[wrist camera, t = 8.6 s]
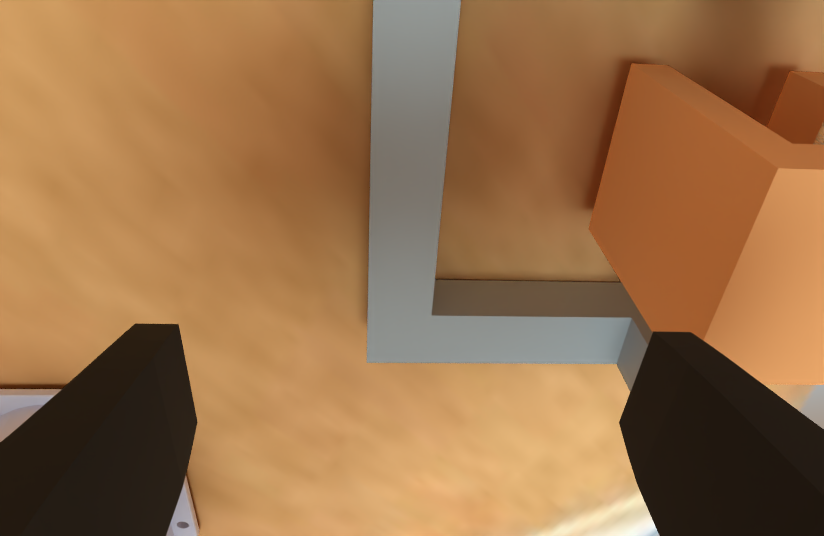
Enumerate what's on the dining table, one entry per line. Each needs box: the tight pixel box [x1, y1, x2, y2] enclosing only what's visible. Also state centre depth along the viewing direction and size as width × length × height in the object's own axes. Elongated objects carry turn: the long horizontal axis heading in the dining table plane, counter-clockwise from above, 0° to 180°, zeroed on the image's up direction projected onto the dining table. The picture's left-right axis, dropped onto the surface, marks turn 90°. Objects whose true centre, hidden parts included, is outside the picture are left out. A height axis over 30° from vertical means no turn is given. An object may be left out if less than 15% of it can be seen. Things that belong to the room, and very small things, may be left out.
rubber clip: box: [589, 63, 824, 385], centre depth 14 cm, size 5×5×7 cm
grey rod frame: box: [367, 0, 824, 392], centre depth 15 cm, size 14×19×6 cm
